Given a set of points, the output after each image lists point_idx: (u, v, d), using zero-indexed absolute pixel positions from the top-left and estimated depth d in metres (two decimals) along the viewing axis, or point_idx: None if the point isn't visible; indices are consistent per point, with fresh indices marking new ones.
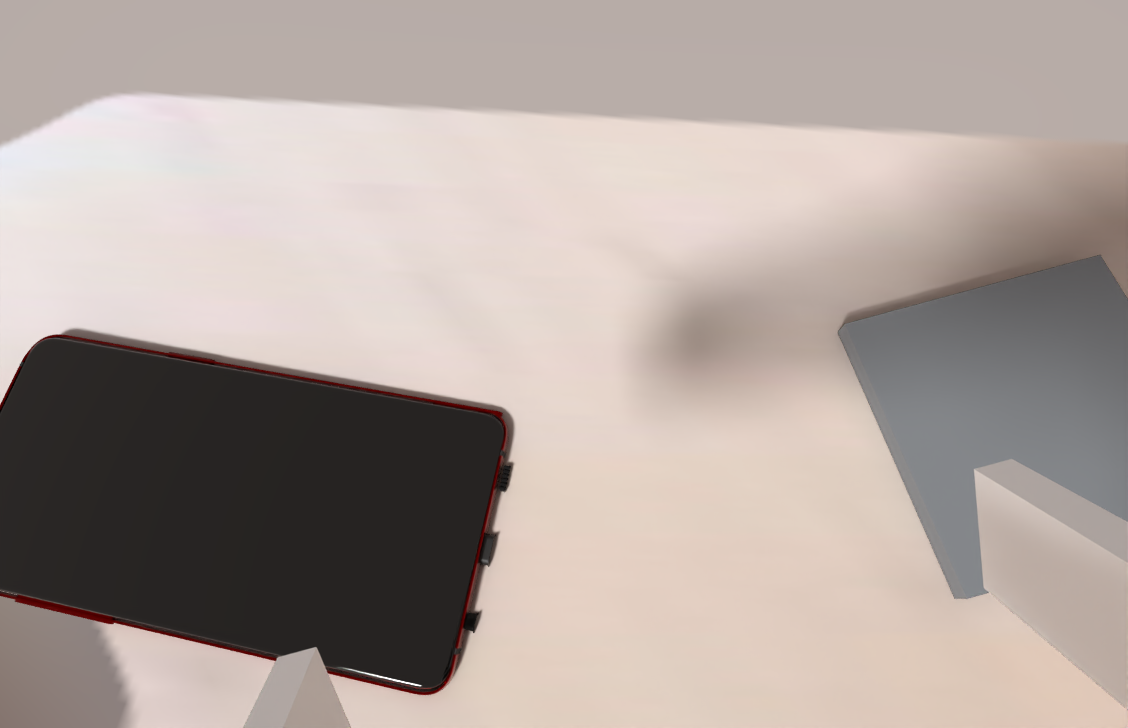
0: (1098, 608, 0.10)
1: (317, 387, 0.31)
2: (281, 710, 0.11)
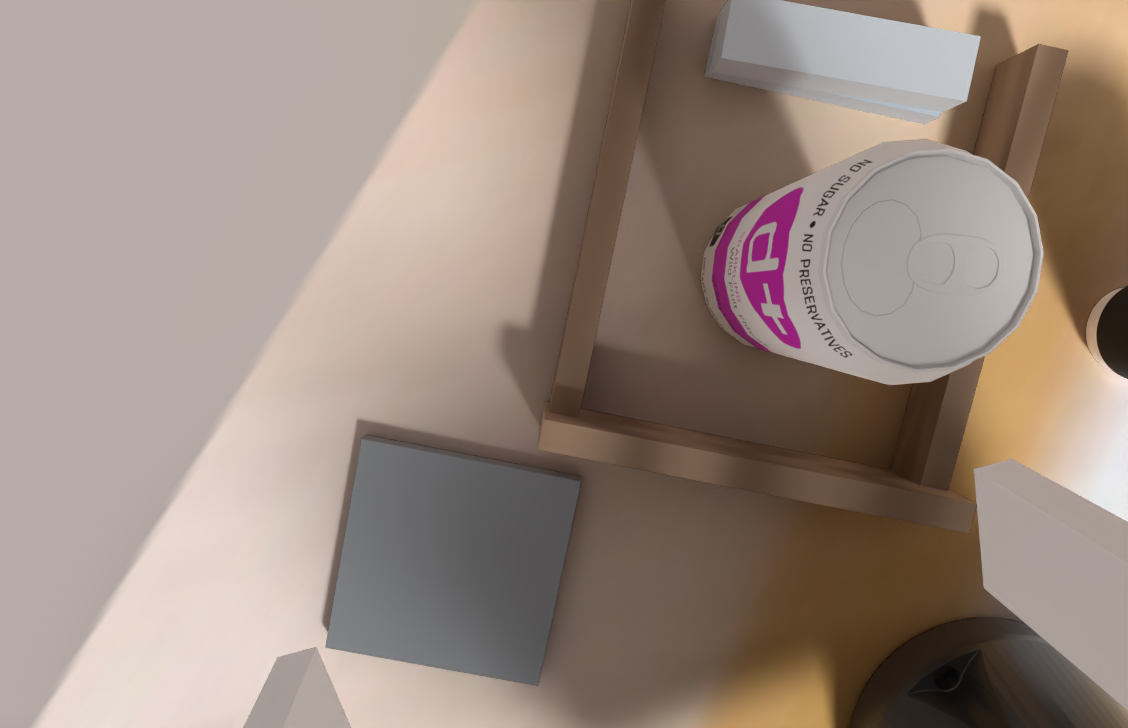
0: (1098, 608, 0.10)
1: None
2: (282, 710, 0.11)
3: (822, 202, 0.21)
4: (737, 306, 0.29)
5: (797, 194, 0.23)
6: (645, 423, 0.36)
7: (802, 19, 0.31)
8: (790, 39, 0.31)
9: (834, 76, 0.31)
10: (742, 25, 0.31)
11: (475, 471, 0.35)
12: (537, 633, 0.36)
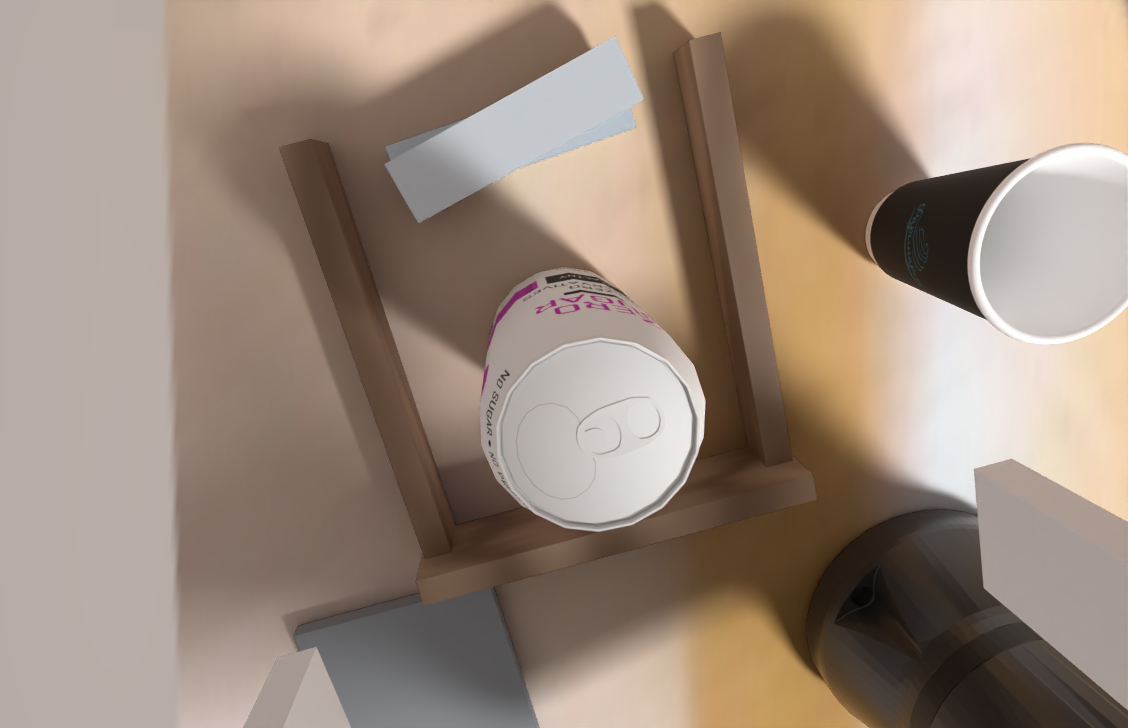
0: (1098, 608, 0.10)
1: None
2: (281, 709, 0.11)
3: (488, 422, 0.23)
4: None
5: (482, 389, 0.25)
6: (517, 514, 0.38)
7: (457, 141, 0.30)
8: (460, 165, 0.30)
9: (519, 165, 0.31)
10: (413, 184, 0.31)
11: (399, 616, 0.39)
12: (518, 705, 0.41)
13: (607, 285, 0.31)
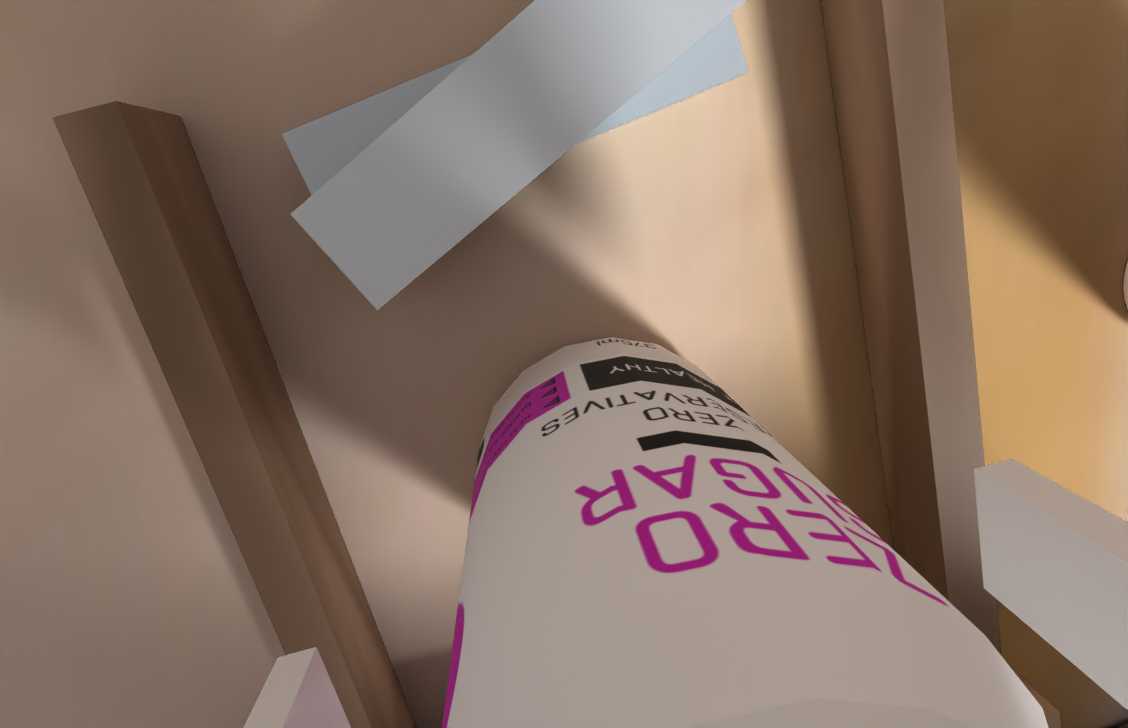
0: (1098, 608, 0.10)
1: None
2: (281, 709, 0.11)
3: None
4: None
5: (444, 723, 0.09)
6: None
7: (419, 142, 0.15)
8: (434, 186, 0.16)
9: (545, 165, 0.16)
10: (353, 241, 0.16)
11: None
12: None
13: (705, 388, 0.16)
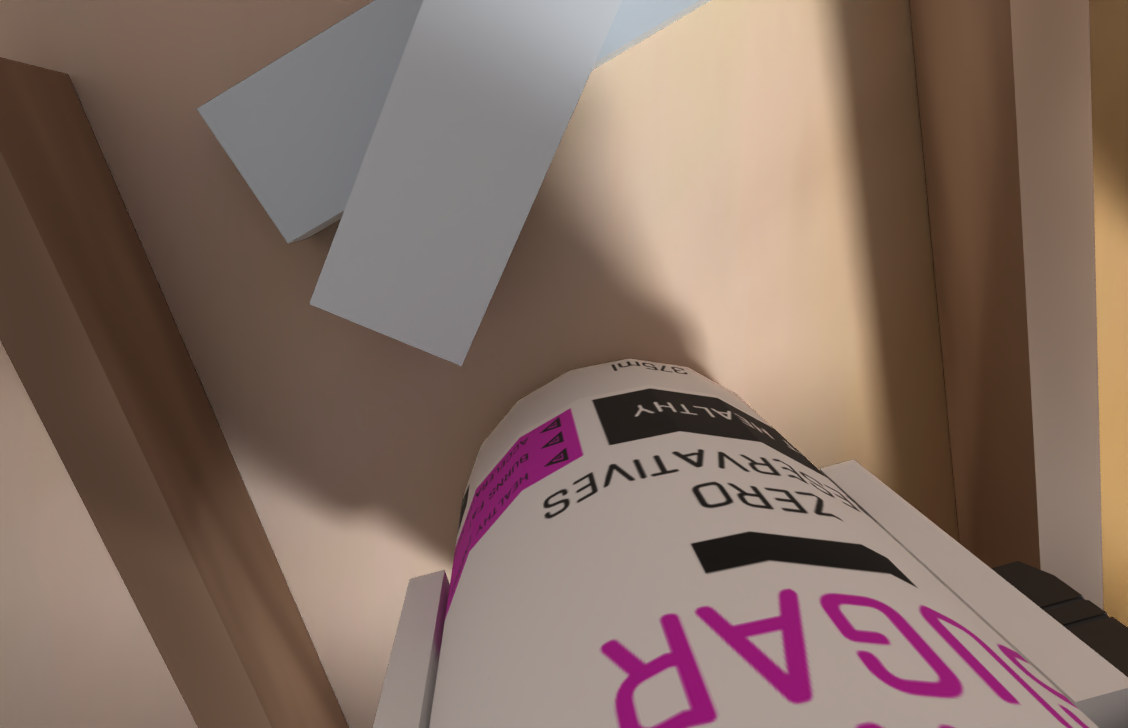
0: None
1: None
2: (429, 616, 0.12)
3: None
4: None
5: None
6: None
7: (413, 141, 0.11)
8: (457, 185, 0.12)
9: (577, 90, 0.12)
10: (395, 299, 0.12)
11: None
12: None
13: (763, 438, 0.12)
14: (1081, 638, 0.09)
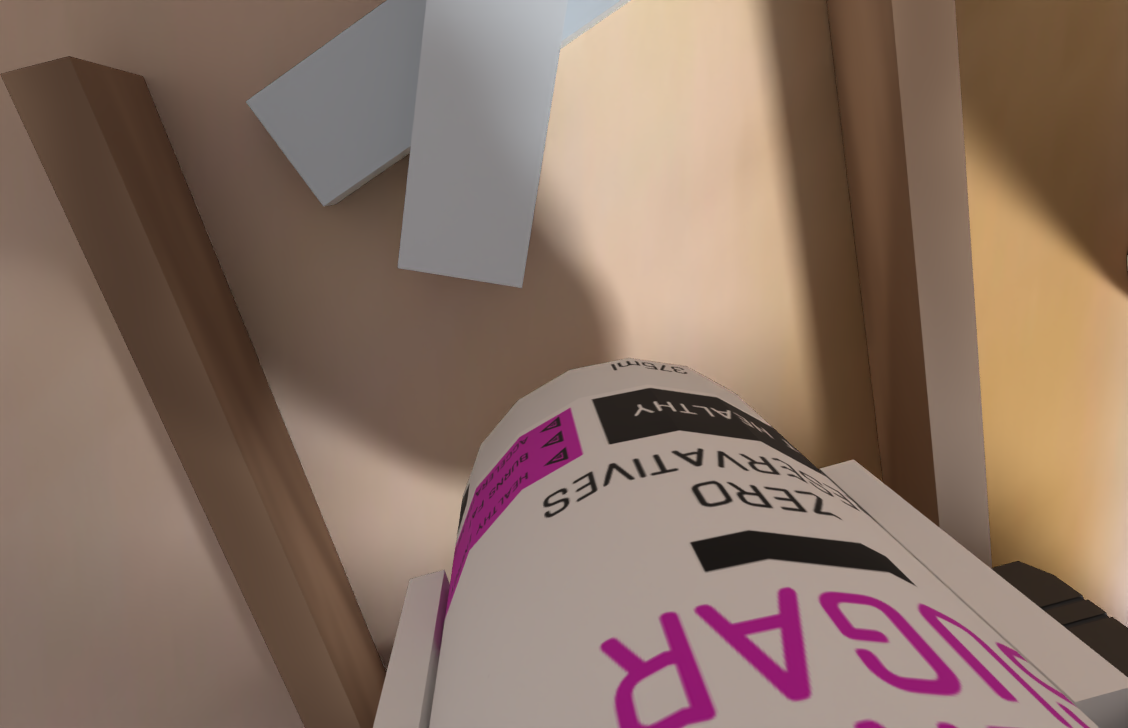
0: None
1: None
2: (429, 616, 0.12)
3: None
4: None
5: None
6: None
7: (444, 121, 0.15)
8: (484, 147, 0.15)
9: (556, 46, 0.15)
10: (459, 248, 0.16)
11: None
12: None
13: (763, 437, 0.12)
14: (1081, 638, 0.09)
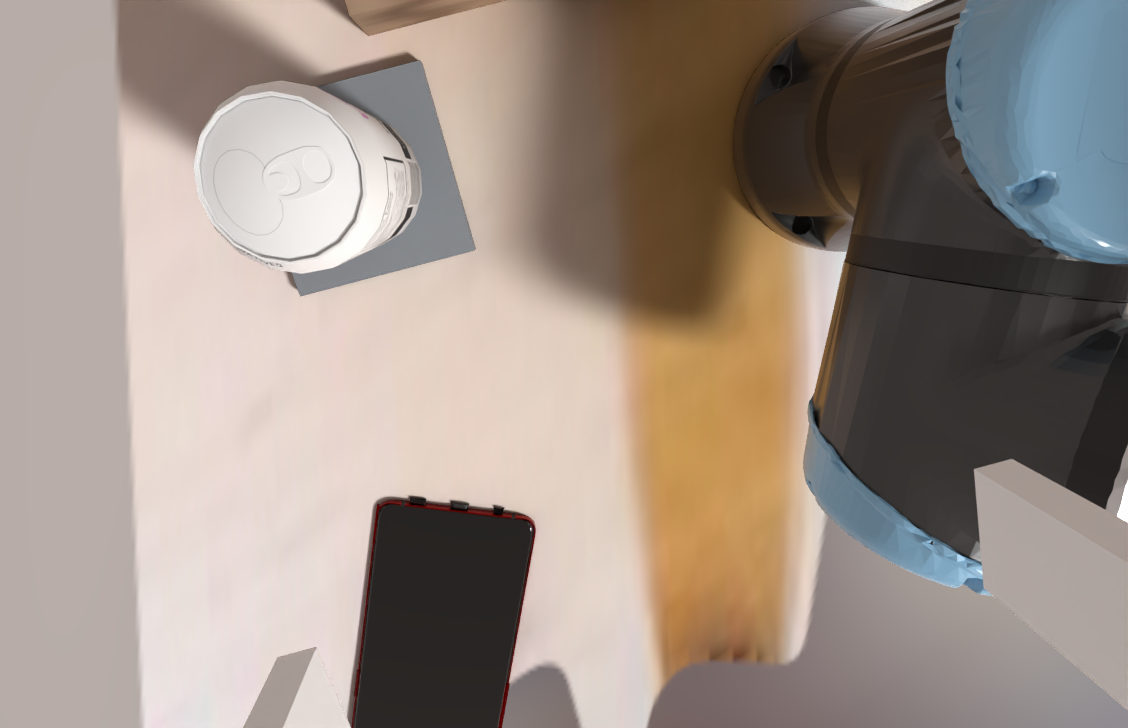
0: (1098, 608, 0.10)
1: (370, 611, 0.51)
2: (282, 709, 0.11)
3: None
4: None
5: None
6: None
7: None
8: None
9: None
10: None
11: (333, 93, 0.41)
12: (452, 207, 0.43)
13: None
14: None
